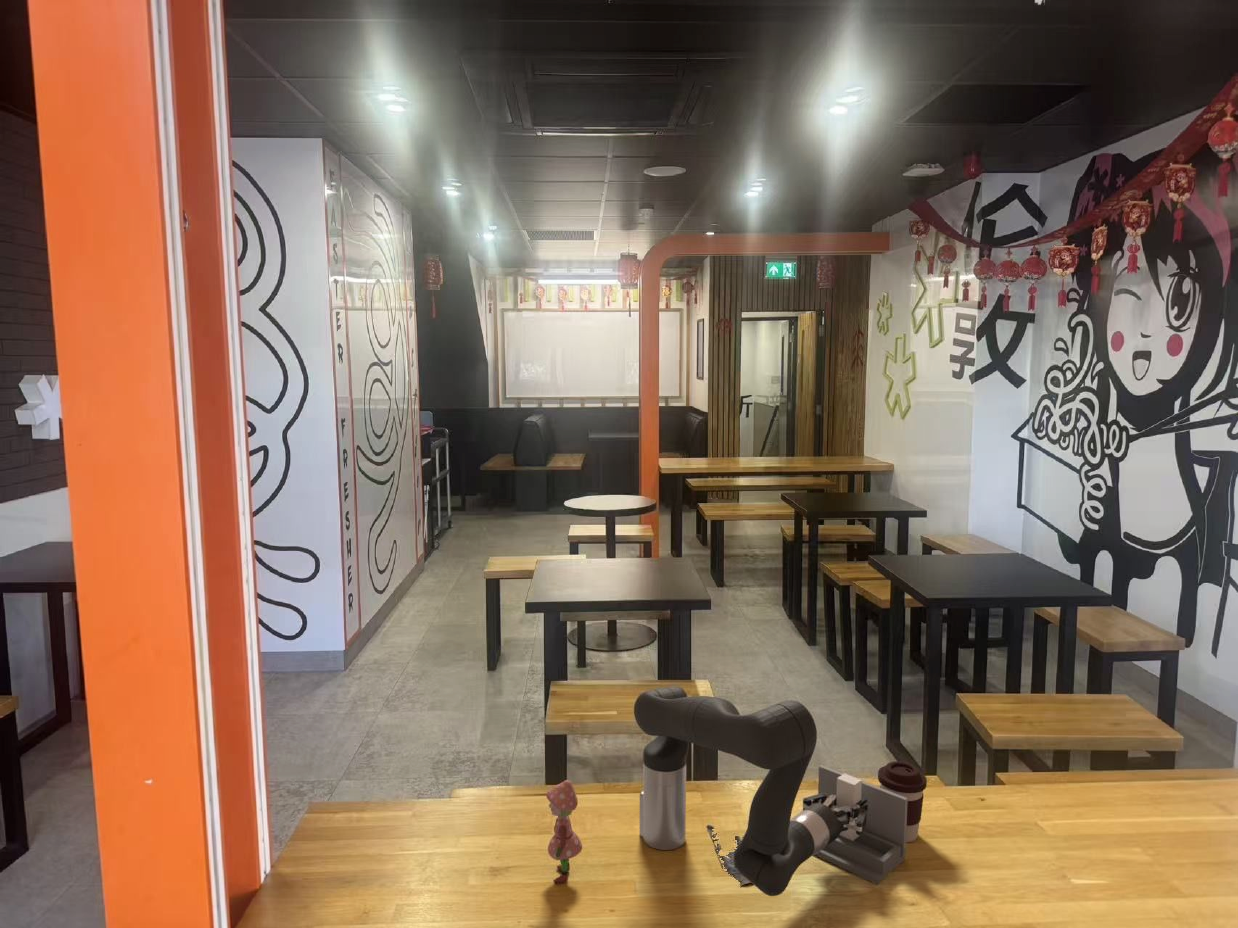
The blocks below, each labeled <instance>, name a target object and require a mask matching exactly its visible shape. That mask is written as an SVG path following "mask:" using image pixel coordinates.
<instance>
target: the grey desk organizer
mask: <svg viewBox="0 0 1238 928" xmlns="http://www.w3.org/2000/svg"><path fill="white" fill-rule="evenodd" d="M843 774H845V773H844V772H841V771H838V770H836V769H833V768H831V767H828V766H825V765H822V764H820V765H819V766H818V784H817V785H818V786H817V787H818V789H817V790H818V792H817V794H820V793H826V794H827V796H830V795H835V794H837V778H838V777H840V776H841V775H843ZM863 798H864V799H867V802H868V810H867V815H866V825H865V828H864V831H863V834H862V835H860V836H859V837H857V838H856V839H855V840H853V841H852V840H850V839H847V838H845V837H843V836H841V835H839V836H838V838H837V839H836V840H834V841H833V842H832V843H831V844H829V845H828V846H827V847H825V848H824V849H823V850H821V851H820V852H819V853H817V854H815V855H814V856H816V857H818V858H821V859H822V860H824V861H827V862H829V863H831V864H834V865H836V866H837V867H840V868H842V869H844V870H845V871H848V872H850V873H852V874H854V875H856V876H858V877H860V878H863V879H865V880H867V881H869V882H870V883H872V884H875V885H876V886H878V885H879V884H880V883H881V882H883V880H884V879H886V878H887V877H888V876H889V875H890V874H891V873H892V872H894V870H895V869H897V868H898V866H900V865H901V864H902V863H903V862H904V861H905V860H906V853H907V852H906V850H907V846H906V845H907V842H906V827H907V801H908V798H906V797H903V796H901V795H898V794H895V793H893V792H890V791H888V790H885V789H882V788H880V787H879V786H876V785H874V784H872V783H870V782H866V781H864V780H862V789H861V799H863ZM820 802H821V799H820V800H819V803H820Z"/></svg>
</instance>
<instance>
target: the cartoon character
mask: <svg viewBox="0 0 1238 928" xmlns="http://www.w3.org/2000/svg"><path fill="white" fill-rule="evenodd" d="M545 794H546V795H545V796H546V799H547V801H549V804H548V808H550V811H551V814H552V815H553V816H557V817H556V818H555V823H554V825H553V832H554V834H553V836H552V837H551V838H550V841H549V843H548V847H547V853H548V855H549V857H551V858H552V859H553V860H555V861H559V862H560V864H559V865H556V868H557V870H559V871H561V874H560V875H559V876H558V877H556V878H555V879H552V880H553V883H554V884H560V883H562V884H565V883H567V881H568V879H569V878H568V873H569V872H570V868H571V867H570V859H572V858H574V857H576V856H577V855H579V854H580V853H581V852H582V849H583V844H582V840H581V839H580V837H579V836H578V834H577V833H575V831H573V828H572V822H571V819H570V815H572V813H573V811H575V810H577V809H576V808H577V806H578V803H579V802H578V796H577V794H576V790H575V788H574V787H573V783H572V782H571V781H570V780H568V779H565V780H563V781H562V782H560V783H558V784H556V786H554V787H553V788H551V789H548V791H546V793H545Z"/></svg>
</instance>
